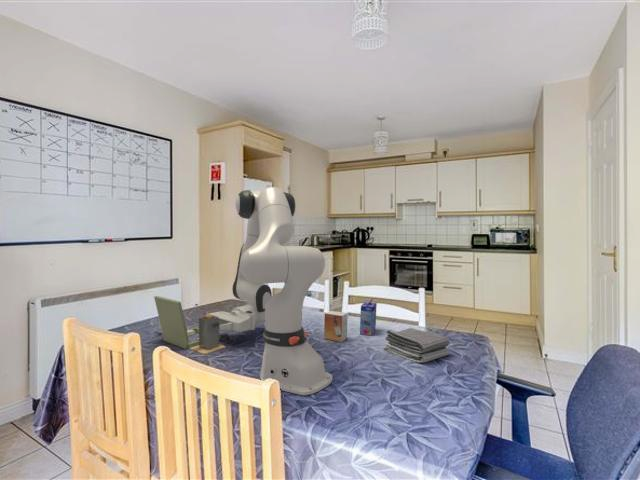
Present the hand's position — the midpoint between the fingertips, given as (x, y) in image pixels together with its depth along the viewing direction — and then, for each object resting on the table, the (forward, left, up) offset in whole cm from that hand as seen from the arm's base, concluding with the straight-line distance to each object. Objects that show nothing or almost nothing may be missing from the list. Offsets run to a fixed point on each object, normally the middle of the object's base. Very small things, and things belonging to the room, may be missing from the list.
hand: (211, 325), depth 125 cm
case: (+14, +1, -8) cm, 16 cm away
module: (0, +1, -8) cm, 8 cm away
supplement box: (+29, 0, -8) cm, 30 cm away
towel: (-62, -41, -9) cm, 75 cm away
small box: (-31, -36, -8) cm, 49 cm away
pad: (0, +1, -8) cm, 8 cm away
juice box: (-37, -53, -8) cm, 65 cm away
